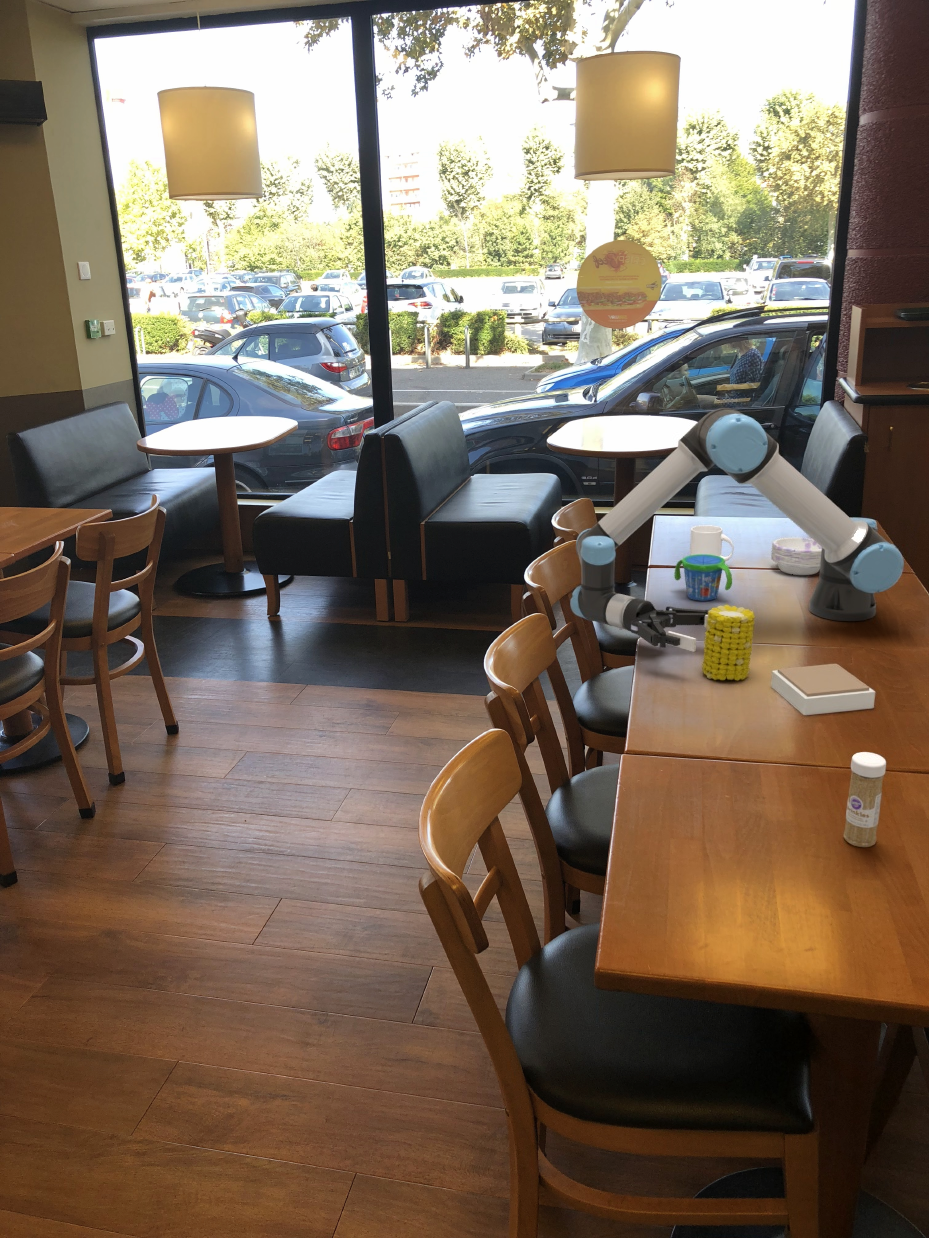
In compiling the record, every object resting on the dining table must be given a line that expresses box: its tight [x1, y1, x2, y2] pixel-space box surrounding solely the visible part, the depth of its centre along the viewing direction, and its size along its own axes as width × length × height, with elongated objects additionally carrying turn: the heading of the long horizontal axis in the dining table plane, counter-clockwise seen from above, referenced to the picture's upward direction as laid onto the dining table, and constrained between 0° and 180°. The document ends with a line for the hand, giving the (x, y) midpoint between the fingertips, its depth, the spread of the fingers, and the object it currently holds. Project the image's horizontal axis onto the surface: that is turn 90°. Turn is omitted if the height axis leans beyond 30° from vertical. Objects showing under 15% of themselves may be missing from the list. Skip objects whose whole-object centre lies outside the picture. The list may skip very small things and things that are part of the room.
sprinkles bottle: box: [843, 751, 887, 848], centre depth 140 cm, size 5×5×13 cm
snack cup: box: [673, 554, 733, 602], centre depth 248 cm, size 16×10×10 cm
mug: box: [689, 524, 735, 562], centre depth 274 cm, size 9×12×11 cm
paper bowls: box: [770, 536, 822, 576], centre depth 267 cm, size 15×15×8 cm
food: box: [701, 604, 756, 681], centre depth 200 cm, size 15×12×10 cm
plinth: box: [770, 663, 876, 716], centre depth 189 cm, size 14×14×4 cm
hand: (714, 636), depth 201 cm, fingers open, 13 cm apart
